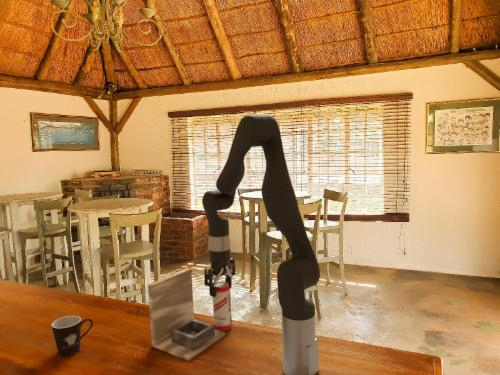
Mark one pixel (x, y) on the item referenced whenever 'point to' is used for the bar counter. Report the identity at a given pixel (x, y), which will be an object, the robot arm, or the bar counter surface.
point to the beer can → (222, 307)
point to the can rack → (178, 317)
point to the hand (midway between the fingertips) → (221, 292)
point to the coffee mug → (68, 334)
